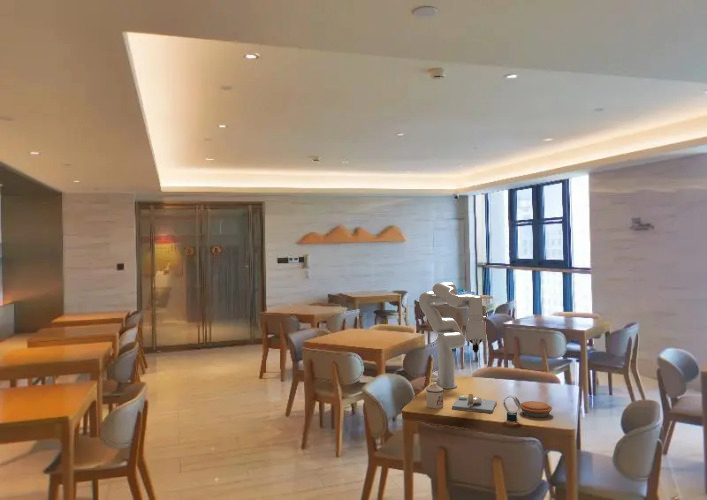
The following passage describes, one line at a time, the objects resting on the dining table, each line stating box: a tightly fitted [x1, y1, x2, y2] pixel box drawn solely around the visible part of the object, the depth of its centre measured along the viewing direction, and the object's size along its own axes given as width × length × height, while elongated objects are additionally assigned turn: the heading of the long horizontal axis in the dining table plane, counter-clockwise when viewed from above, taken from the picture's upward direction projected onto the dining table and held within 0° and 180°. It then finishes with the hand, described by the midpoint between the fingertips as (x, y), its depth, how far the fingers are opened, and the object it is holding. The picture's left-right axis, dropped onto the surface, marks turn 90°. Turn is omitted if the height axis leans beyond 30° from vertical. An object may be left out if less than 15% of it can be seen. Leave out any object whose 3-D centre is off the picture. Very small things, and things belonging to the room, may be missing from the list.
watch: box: [502, 395, 521, 422], centre depth 251 cm, size 6×8×11 cm
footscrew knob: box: [467, 393, 483, 406], centre depth 270 cm, size 13×7×6 cm, turn 154°
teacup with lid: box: [425, 382, 444, 409], centre depth 274 cm, size 12×9×12 cm
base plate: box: [451, 395, 497, 414], centre depth 272 cm, size 20×18×3 cm
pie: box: [520, 400, 553, 418], centre depth 259 cm, size 16×16×5 cm
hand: (475, 351), depth 289 cm, fingers closed
